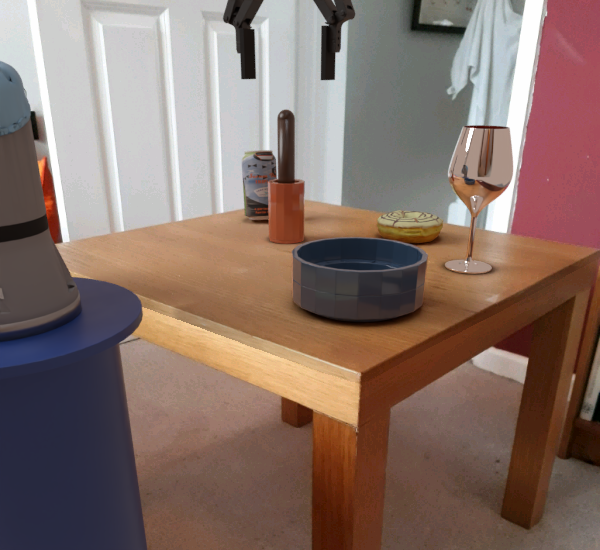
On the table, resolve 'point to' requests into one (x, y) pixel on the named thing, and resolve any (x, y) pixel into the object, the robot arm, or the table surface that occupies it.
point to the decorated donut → (409, 226)
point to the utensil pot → (286, 211)
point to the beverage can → (257, 182)
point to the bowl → (358, 278)
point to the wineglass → (479, 179)
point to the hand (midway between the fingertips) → (286, 79)
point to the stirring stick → (286, 146)
